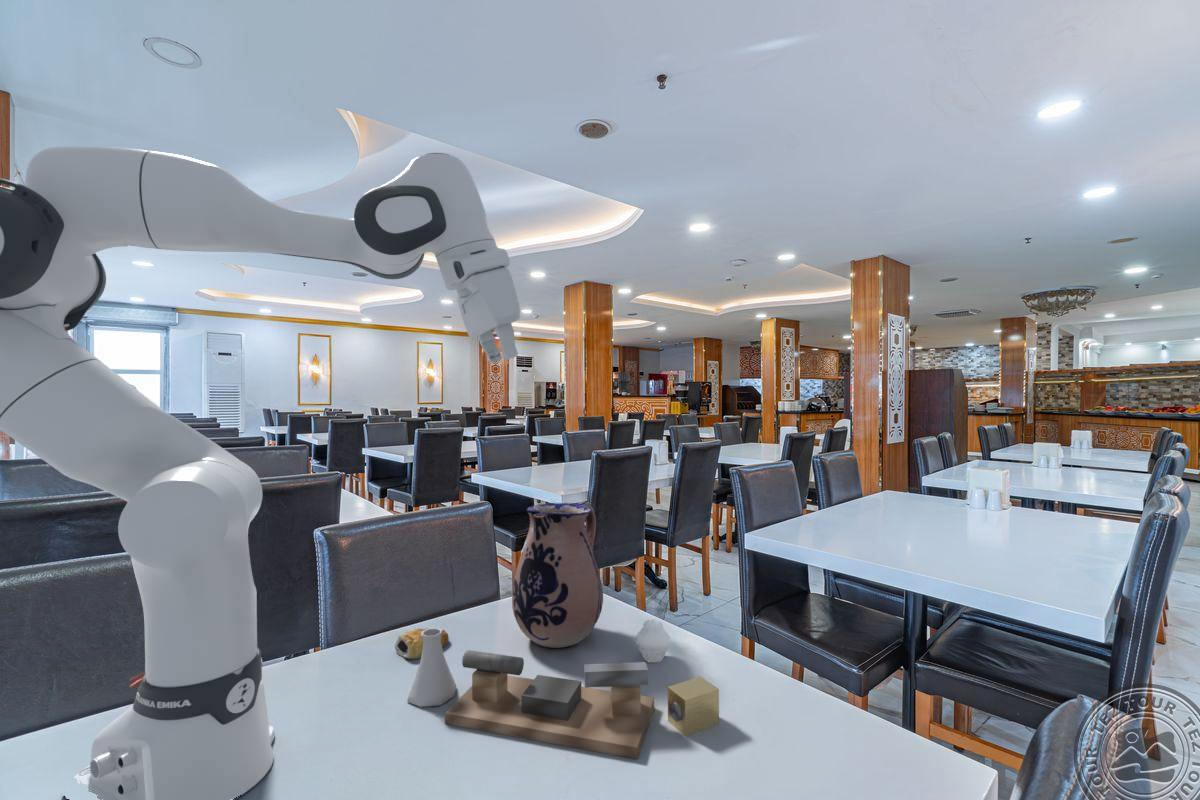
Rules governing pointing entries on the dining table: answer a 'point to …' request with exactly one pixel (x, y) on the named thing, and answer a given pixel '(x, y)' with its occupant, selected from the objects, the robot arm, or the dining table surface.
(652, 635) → the white rounded piece
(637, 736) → the shaft stand
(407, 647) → the pastry
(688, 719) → the tan rectangular block
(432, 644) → the flask
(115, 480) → the robot arm
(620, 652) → the dining table surface
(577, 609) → the ceramic pitcher
